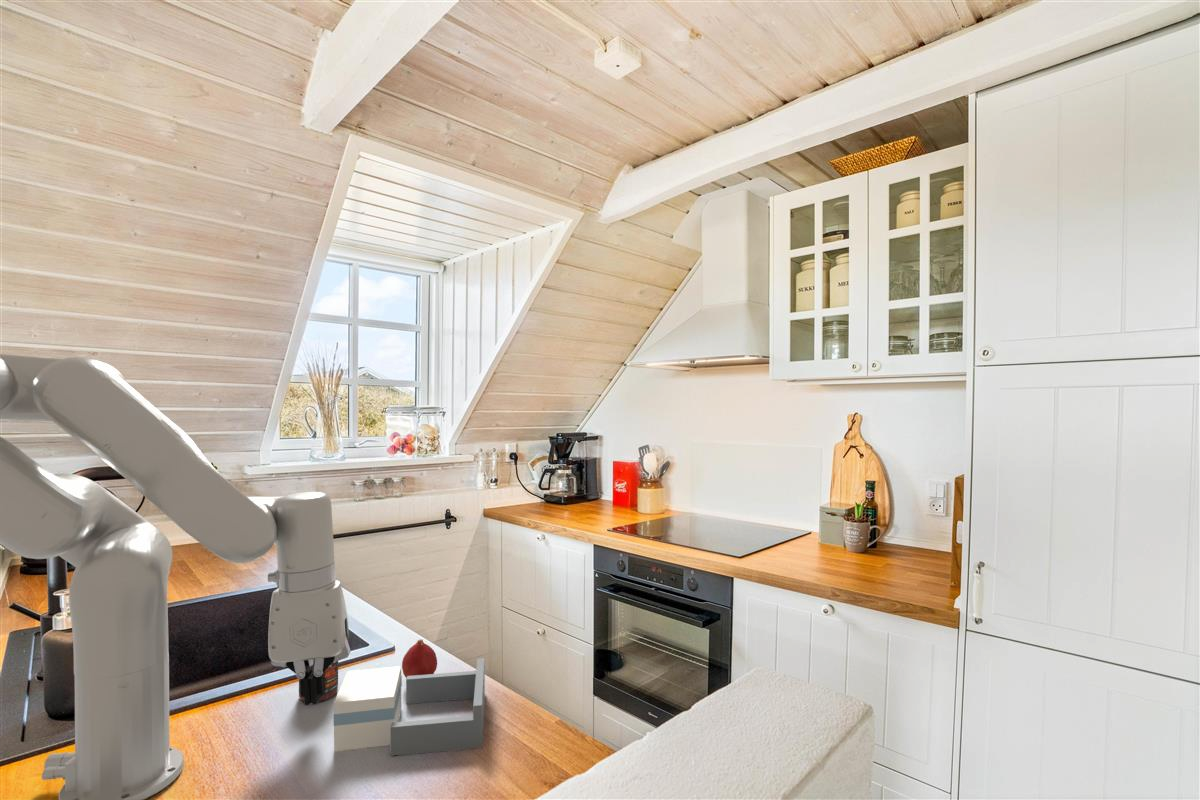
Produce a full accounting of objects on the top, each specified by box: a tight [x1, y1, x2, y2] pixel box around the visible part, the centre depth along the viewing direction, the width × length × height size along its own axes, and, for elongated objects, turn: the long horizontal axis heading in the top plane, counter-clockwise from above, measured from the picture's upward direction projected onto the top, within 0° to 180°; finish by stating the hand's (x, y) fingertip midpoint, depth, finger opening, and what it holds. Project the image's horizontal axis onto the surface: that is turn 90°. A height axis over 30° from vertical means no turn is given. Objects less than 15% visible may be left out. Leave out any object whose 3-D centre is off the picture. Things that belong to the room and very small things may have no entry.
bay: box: [390, 657, 486, 757], centre depth 92 cm, size 12×15×6 cm
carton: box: [332, 665, 403, 752], centre depth 90 cm, size 8×10×7 cm
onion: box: [401, 638, 438, 679], centre depth 104 cm, size 6×6×8 cm
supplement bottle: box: [298, 659, 339, 703], centre depth 100 cm, size 6×6×11 cm
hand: (313, 699), depth 89 cm, fingers closed
